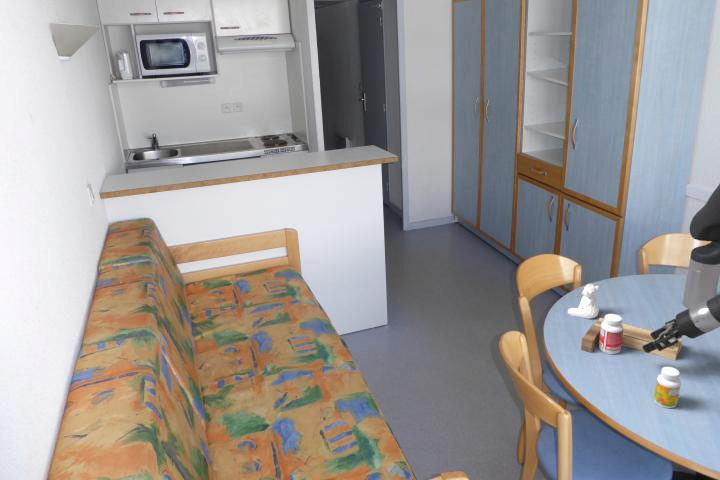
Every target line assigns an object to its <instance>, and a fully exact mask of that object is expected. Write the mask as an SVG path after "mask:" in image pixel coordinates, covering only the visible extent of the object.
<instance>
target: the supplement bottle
mask: <svg viewBox="0 0 720 480" xmlns="http://www.w3.org/2000/svg"><path fill="white" fill-rule="evenodd" d="M681 384H682V382H681V379H680V371H679V369H677V368H675V367H672V366H664V367H662V368H661V372H660V374H659V375H658V376H657V378H656V385H655V390H654V396H653V400H654V402H655V403H656V405H658V406H659V407H662V408H666V409H673V408H675V407H677V404H678V401H679V395H680V390H681Z"/></svg>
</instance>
